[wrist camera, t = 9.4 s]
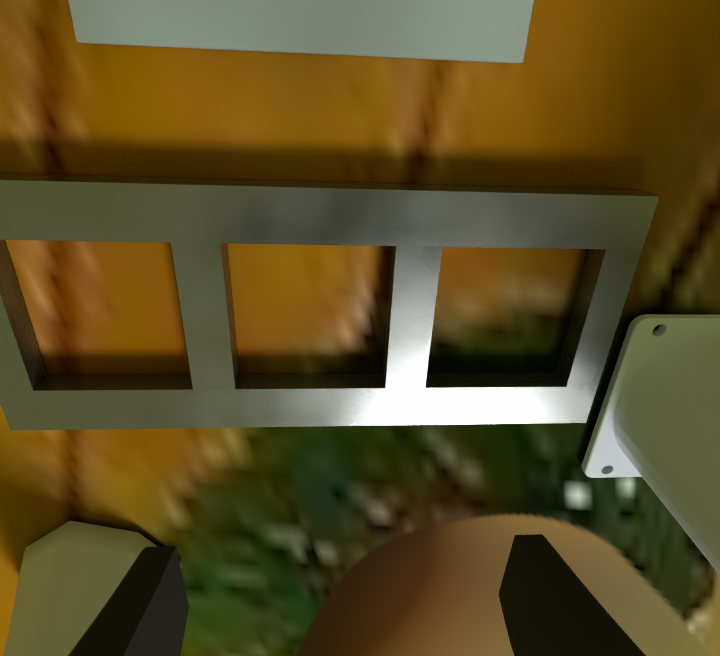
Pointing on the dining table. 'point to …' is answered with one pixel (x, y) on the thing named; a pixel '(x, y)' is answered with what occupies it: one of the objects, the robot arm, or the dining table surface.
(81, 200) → the grey slotted frame
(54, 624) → the flask
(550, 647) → the robot arm
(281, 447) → the dining table surface
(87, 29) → the pad
